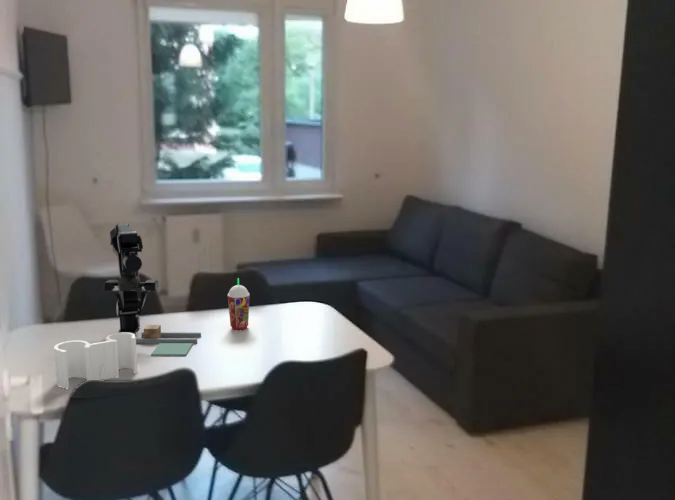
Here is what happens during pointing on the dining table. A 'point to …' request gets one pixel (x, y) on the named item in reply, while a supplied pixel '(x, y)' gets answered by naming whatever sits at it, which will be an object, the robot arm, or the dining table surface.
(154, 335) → the tan block
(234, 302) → the smoothie
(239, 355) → the dining table surface
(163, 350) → the mat
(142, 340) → the channel
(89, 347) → the bracket
